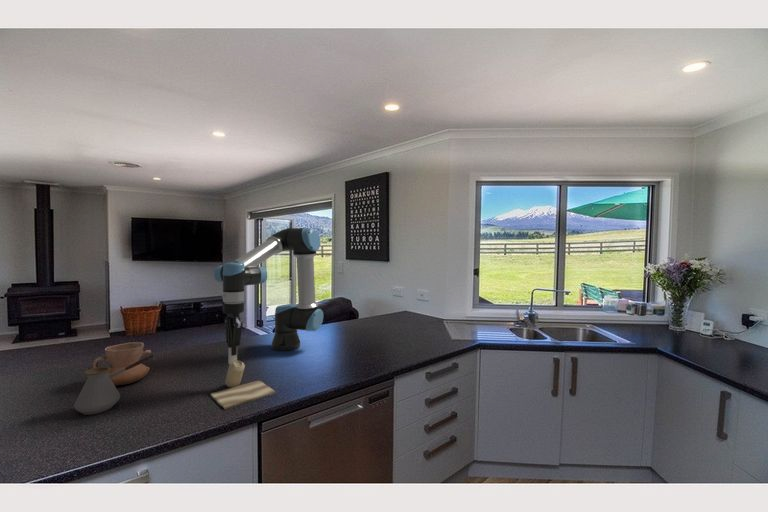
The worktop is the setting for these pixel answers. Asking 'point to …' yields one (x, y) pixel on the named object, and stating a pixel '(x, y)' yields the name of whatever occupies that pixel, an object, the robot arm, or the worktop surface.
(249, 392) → the birch board
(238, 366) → the candle
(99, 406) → the coffee pot
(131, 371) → the stacked tan cups
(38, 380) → the worktop surface
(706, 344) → the worktop surface
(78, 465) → the worktop surface
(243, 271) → the robot arm
